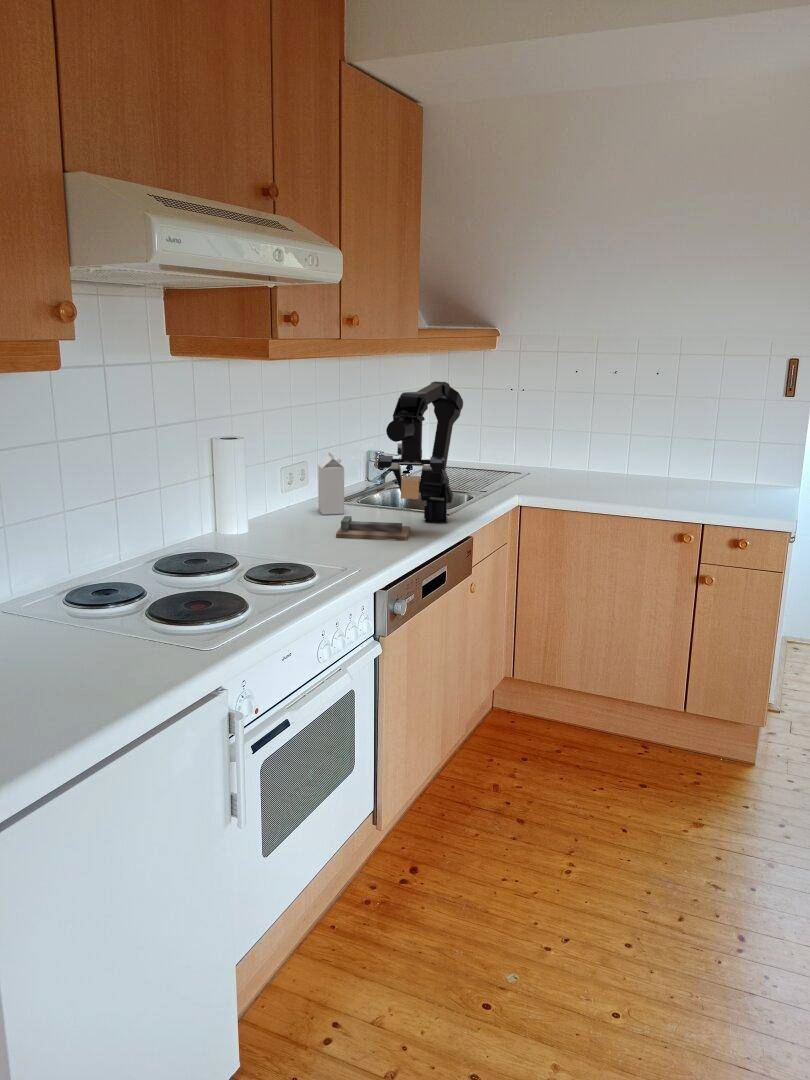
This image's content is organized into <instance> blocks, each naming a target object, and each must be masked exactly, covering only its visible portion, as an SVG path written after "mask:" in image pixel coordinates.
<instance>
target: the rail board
mask: <svg viewBox="0 0 810 1080" xmlns="http://www.w3.org/2000/svg"><path fill="white" fill-rule="evenodd" d="M352 518H353V517H352V515H345V516H344V517H343V518H342V519H341V520H340V527H339V529H338V530H337V532H336V533H335V538H336V539H359V540H378V539H396V540H395V541H403V540H408V538H409V535H410V531H411V526H409V525H408V526H407V525H406V526H405V525H403V523H402V522H383V521H379V522H378V521H355V520H354V521H353V520H352ZM408 534H409V535H408ZM407 537H408V538H407Z"/></svg>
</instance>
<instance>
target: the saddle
mask: <svg viewBox="0 0 810 1080" xmlns="http://www.w3.org/2000/svg"><path fill="white" fill-rule="evenodd" d="M401 478H402V480H401V491H400V499H404V500H407V499H408V500H419V499H420V493H419V485H420V479H421V475H402V476H401Z"/></svg>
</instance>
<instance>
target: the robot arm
mask: <svg viewBox="0 0 810 1080" xmlns="http://www.w3.org/2000/svg"><path fill="white" fill-rule="evenodd" d="M429 404H432V405H433V407H434V409H433V413H434V415H435V418H436V420H437V422H436V423H437V424H436V427H435V428H436V429H435V433H434V434H435V435H434V440H433V447H432V453H431V456H430V459H425V458H424V459H423V449H422V447H423V446H422V445H423V444H422V443H423V421H424V422H425V420H426V419H425V416H424V414H425V412H426V411H427V410H428V409H429ZM463 407H464V400H463V398H462V396H461V395H460V392H458V391H457V390H456V389H454V388H453V387H452V386H450V384H449V383H448V382H447V381H432V382H431V383H430V384H428V385H427V386H425V387H423V388H421V389H419V390H417V391H405V392H404V391H403V392H402V393H401V394H400V396H399V397H398V398H397V402H396V405H395V407H394V411H393V414H392V420H391V422H389V423H388V425H387V427H386V435H387V437H388V439H390V441H392V442H396V443H397V442H401V443H397V454H396V455H398V456H400V458H394V455H384V454H381V455H380V456H378V459H377V468H379V469H381V468H382V469H389V472H392V473H393V475H394V477H395V479H396V482H397V485H398V488H399V491H400V492H401V480H402V470H401V469H402V466H413V467H414V466H416V467H422V468H421V473H420V485H419V494H420V499H421V501H422V502H426V503H425V504H424V506H423V508H424V509H423V512H424V513H423V516H424V517H423V519H424V520H425V521H424V522H425V523H441V522H445V523H447V522H448V515H447V514H448V504H451V503H452V502H453V499H454V493H453V490H452V489H451V486H450V483H449V482H450V478H449V476H448V473H447V471H446V469H447V463H448V457H449V451H450V445H451V439H452V432H453V426H454V424H455V422H456V421H457V420H458V419H459V418H460V416H461V411H462V409H463ZM445 523H444V524H445Z"/></svg>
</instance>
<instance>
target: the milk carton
mask: <svg viewBox="0 0 810 1080" xmlns="http://www.w3.org/2000/svg"><path fill="white" fill-rule="evenodd" d="M341 463H342V459H340V458H339V457H338V456H336V457H334V454H333V453H332V452H330V451H328V455H327V456H326V457H325V458H324V459H322V460H321V461H320V462H319V463H318V465H317V471H318V473H317V474H318V475H317V479H318V480H317V483H318V484H317V487H318V489H317V492H318V497H317V498H318V499H317V500H318V502H317V503H318V511H319V513H320V514H321V515H323V516H324V515H342V514H344V515H345V467H344V466H343V465H342V464H341Z"/></svg>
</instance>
